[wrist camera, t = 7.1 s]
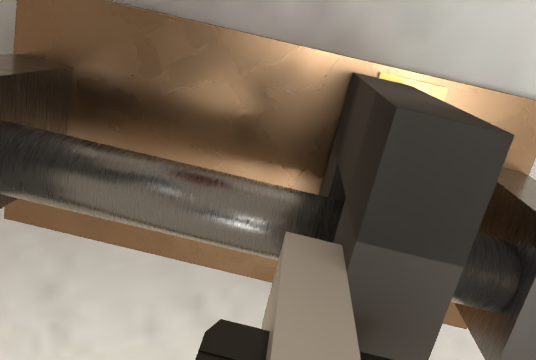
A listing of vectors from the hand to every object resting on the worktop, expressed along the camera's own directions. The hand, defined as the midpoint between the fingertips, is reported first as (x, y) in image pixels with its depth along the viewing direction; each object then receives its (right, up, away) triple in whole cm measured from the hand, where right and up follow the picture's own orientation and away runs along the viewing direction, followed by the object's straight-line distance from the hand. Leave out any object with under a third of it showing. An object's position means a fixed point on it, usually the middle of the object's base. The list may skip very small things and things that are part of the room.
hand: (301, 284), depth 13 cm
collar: (+3, +2, +8) cm, 9 cm away
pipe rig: (-1, +4, +10) cm, 11 cm away
